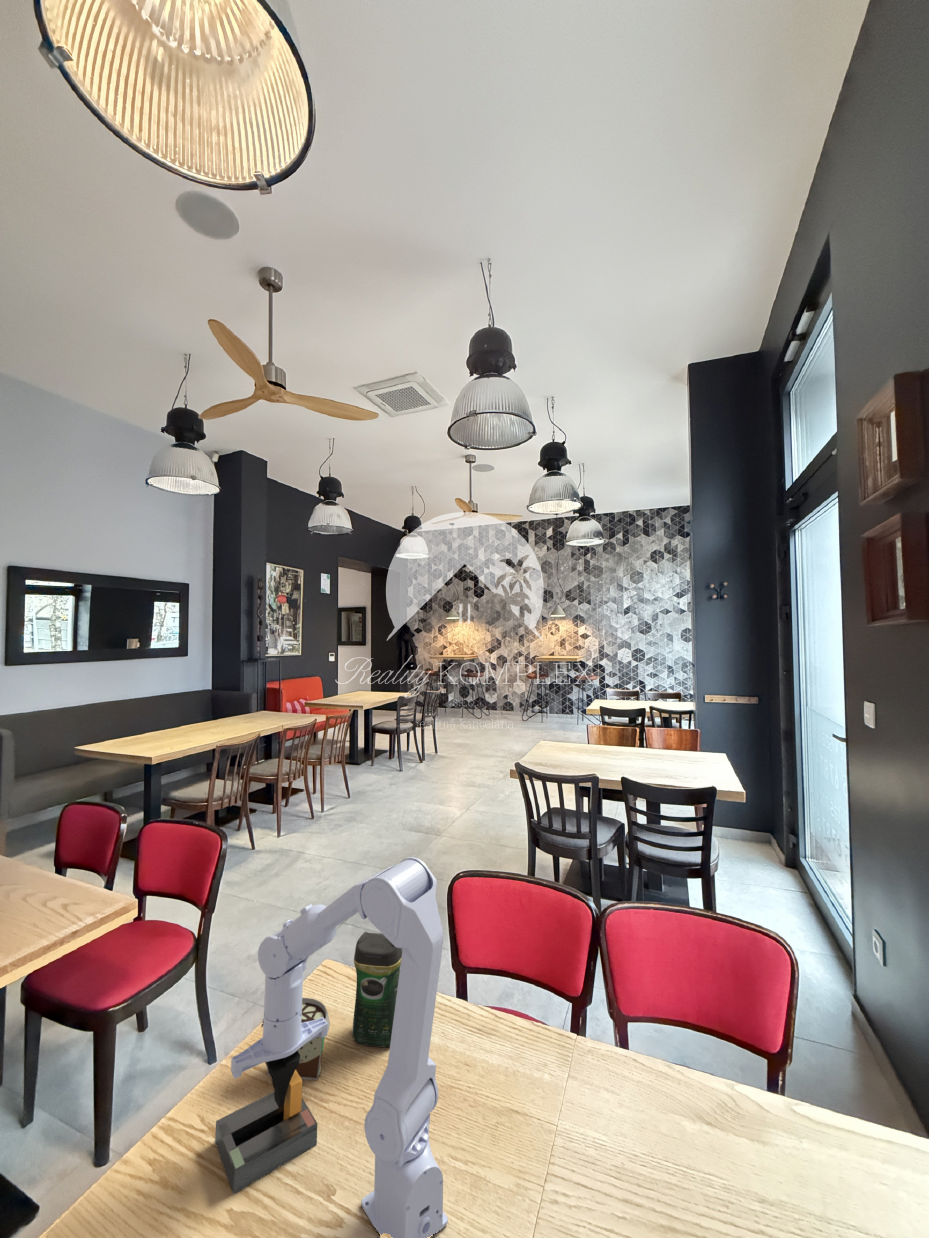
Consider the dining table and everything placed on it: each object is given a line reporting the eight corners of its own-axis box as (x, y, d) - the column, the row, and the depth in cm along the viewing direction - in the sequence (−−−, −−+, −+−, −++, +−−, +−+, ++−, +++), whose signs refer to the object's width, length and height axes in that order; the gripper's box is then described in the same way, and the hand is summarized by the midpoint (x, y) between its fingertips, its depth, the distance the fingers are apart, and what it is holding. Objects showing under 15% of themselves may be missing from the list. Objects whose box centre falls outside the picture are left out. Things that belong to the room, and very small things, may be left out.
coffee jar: (406, 1023, 105) (408, 928, 107) (394, 1052, 97) (397, 949, 99) (361, 1017, 107) (363, 923, 108) (346, 1045, 99) (349, 943, 101)
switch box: (316, 1144, 79) (317, 1123, 79) (233, 1194, 71) (234, 1170, 71) (292, 1100, 86) (293, 1081, 87) (214, 1142, 79) (216, 1120, 79)
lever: (300, 1130, 80) (302, 1080, 81) (289, 1136, 79) (291, 1086, 80) (292, 1114, 83) (293, 1066, 84) (280, 1120, 82) (282, 1071, 83)
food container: (338, 1054, 97) (339, 998, 98) (326, 1080, 91) (328, 1020, 91) (275, 1049, 98) (277, 993, 99) (259, 1074, 92) (261, 1014, 93)
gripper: (316, 980, 89) (313, 1064, 88) (227, 1015, 80) (222, 1109, 79) (334, 1001, 84) (331, 1091, 82) (240, 1041, 75) (236, 1143, 73)
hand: (279, 1102), depth 80 cm, fingers closed
